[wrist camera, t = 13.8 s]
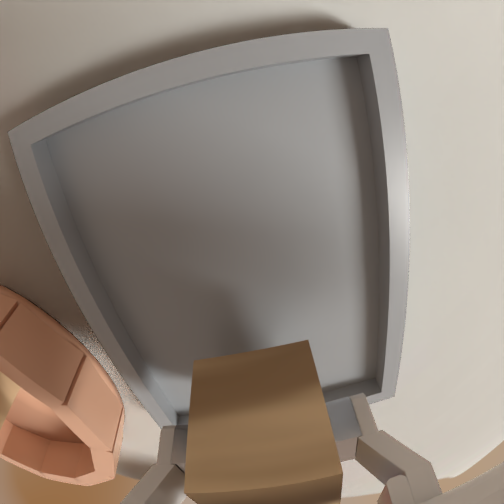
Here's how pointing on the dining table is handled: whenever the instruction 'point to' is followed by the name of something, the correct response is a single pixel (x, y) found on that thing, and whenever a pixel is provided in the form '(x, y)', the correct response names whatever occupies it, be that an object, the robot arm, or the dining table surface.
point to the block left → (6, 396)
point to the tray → (234, 210)
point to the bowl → (56, 399)
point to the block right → (260, 431)
